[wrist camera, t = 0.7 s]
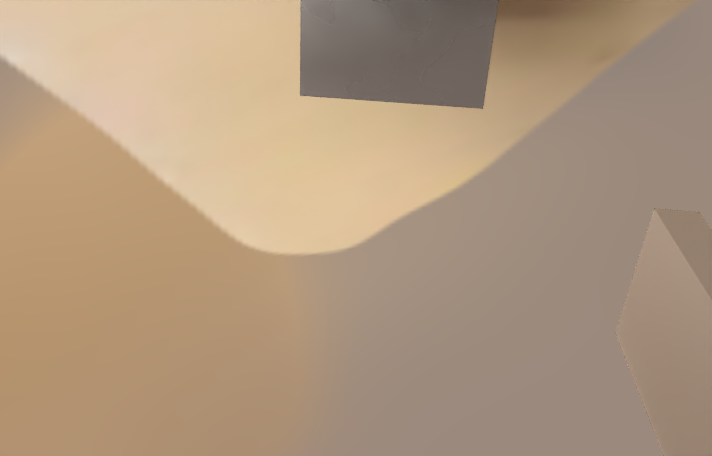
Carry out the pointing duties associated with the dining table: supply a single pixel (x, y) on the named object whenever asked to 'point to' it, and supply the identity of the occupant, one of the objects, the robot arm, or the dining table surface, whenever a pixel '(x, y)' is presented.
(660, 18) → the dining table surface
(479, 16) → the chute
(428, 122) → the dining table surface
